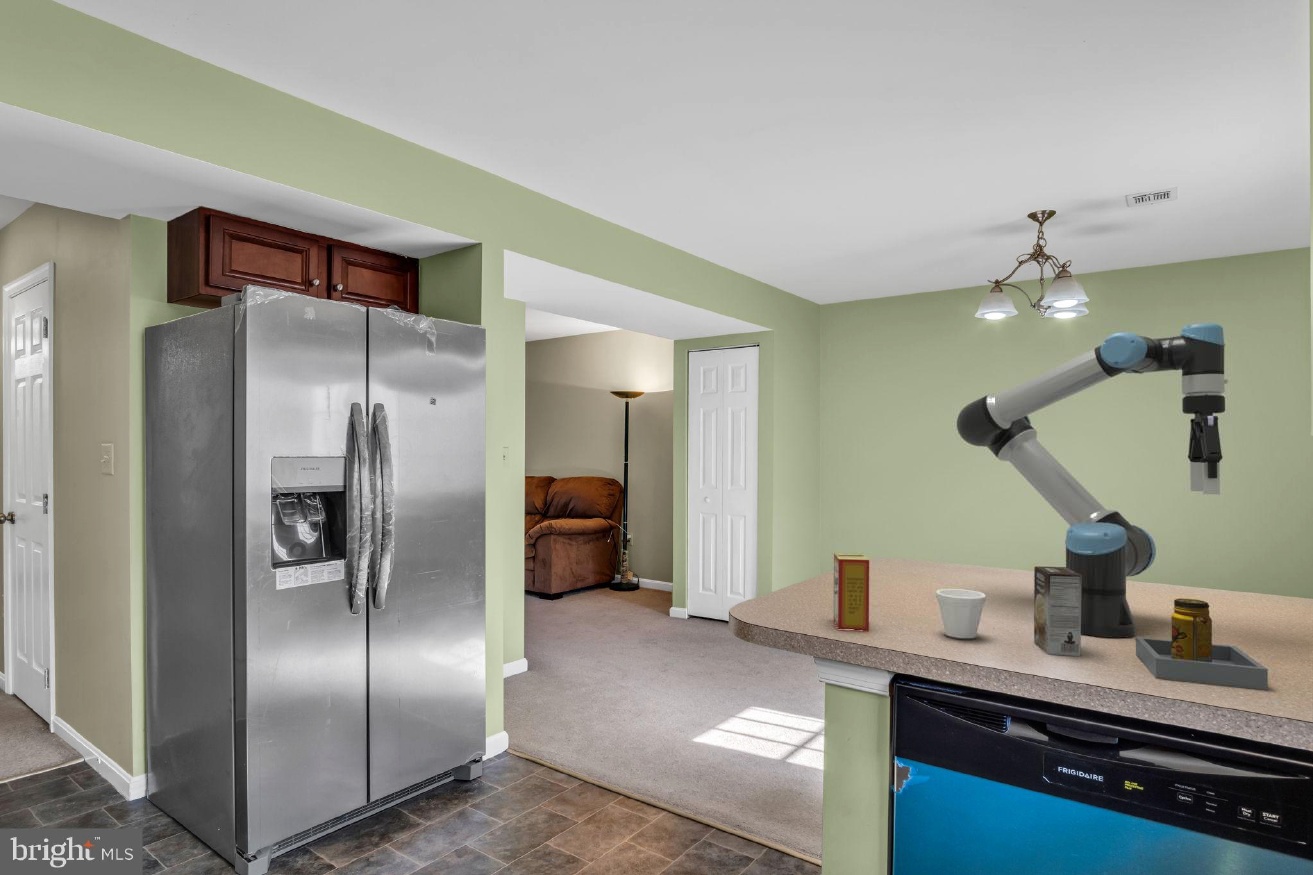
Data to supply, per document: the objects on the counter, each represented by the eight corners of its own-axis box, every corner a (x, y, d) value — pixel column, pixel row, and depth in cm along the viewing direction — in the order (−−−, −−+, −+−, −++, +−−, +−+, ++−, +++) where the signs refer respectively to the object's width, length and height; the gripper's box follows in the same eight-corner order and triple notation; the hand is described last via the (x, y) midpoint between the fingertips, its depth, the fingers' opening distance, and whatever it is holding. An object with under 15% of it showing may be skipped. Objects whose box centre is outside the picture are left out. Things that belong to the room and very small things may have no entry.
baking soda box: (868, 631, 163) (869, 558, 163) (838, 630, 163) (838, 557, 164) (862, 621, 172) (862, 552, 172) (833, 620, 173) (834, 551, 173)
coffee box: (1032, 642, 155) (1032, 565, 155) (1065, 644, 153) (1065, 566, 154) (1047, 654, 145) (1048, 572, 146) (1082, 656, 144) (1083, 574, 145)
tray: (1155, 678, 131) (1155, 658, 131) (1135, 654, 146) (1135, 636, 146) (1267, 690, 125) (1267, 669, 125) (1234, 664, 140) (1235, 645, 140)
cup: (975, 645, 152) (976, 599, 152) (927, 636, 159) (928, 593, 159) (992, 636, 159) (992, 593, 159) (946, 628, 166) (946, 586, 166)
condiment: (1159, 661, 139) (1159, 597, 139) (1199, 659, 140) (1200, 596, 140) (1192, 673, 132) (1192, 605, 132) (1234, 671, 133) (1235, 604, 133)
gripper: (1239, 390, 149) (1240, 496, 148) (1211, 398, 171) (1213, 490, 171) (1193, 391, 152) (1195, 495, 152) (1172, 399, 175) (1173, 489, 174)
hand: (1204, 492), depth 161 cm, fingers open, 13 cm apart
